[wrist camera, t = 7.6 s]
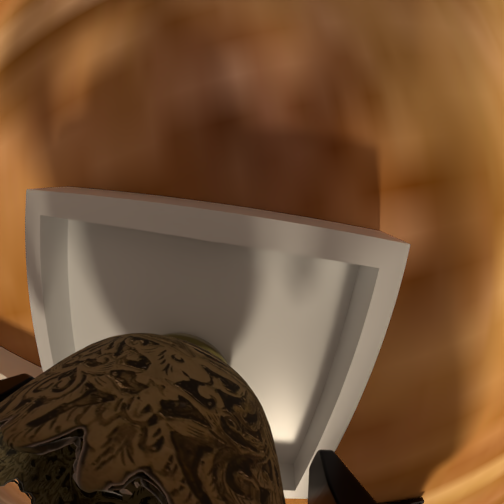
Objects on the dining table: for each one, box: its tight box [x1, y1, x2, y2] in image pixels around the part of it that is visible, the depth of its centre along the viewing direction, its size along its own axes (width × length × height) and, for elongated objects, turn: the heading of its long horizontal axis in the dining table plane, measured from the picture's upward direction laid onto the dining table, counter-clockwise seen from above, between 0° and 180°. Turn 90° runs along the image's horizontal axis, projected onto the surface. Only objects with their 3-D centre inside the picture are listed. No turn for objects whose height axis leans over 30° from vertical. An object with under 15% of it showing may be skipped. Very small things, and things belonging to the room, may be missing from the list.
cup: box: [0, 333, 285, 504], centre depth 7 cm, size 7×7×8 cm
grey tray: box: [25, 186, 410, 499], centre depth 10 cm, size 12×12×2 cm
